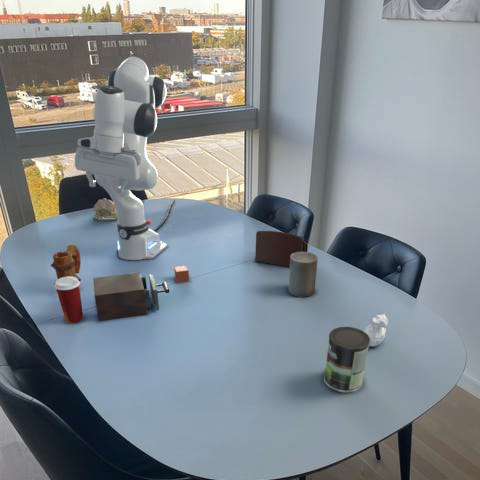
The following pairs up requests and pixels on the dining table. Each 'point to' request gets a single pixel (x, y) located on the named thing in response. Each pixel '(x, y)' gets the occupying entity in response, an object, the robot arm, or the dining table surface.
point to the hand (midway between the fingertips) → (106, 189)
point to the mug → (67, 262)
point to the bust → (377, 330)
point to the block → (181, 274)
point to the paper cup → (70, 298)
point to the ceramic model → (105, 210)
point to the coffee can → (346, 359)
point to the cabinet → (119, 296)
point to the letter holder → (277, 247)
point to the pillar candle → (302, 274)
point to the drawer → (153, 292)
